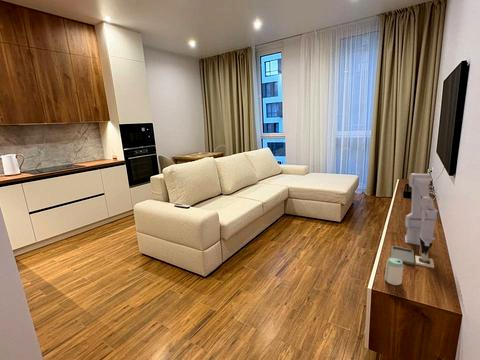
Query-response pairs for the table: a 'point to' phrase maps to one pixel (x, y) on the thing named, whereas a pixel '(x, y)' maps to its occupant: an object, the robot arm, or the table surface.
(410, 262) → the tray
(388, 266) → the can
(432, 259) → the square frame with handle
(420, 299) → the table surface
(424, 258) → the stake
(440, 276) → the table surface
